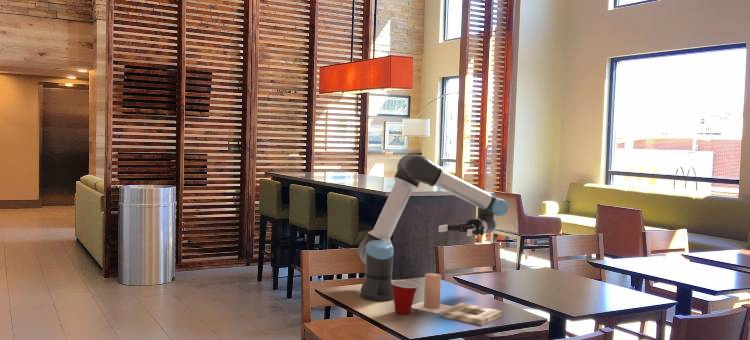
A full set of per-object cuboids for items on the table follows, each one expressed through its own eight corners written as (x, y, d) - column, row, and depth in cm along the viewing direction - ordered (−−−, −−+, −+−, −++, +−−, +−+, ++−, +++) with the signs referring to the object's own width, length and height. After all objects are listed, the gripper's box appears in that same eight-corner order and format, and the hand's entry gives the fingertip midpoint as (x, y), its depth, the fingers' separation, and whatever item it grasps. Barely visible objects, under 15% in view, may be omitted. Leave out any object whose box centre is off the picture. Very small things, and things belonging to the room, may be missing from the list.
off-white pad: (407, 307, 260) (407, 306, 260) (425, 301, 272) (425, 300, 271) (437, 314, 252) (437, 313, 252) (454, 307, 263) (454, 306, 263)
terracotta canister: (420, 306, 261) (422, 274, 260) (428, 303, 266) (430, 272, 266) (434, 309, 257) (436, 277, 257) (442, 306, 263) (444, 275, 262)
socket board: (439, 316, 249) (440, 311, 249) (461, 307, 264) (461, 302, 264) (482, 325, 239) (482, 320, 239) (502, 316, 254) (502, 311, 254)
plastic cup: (414, 317, 245) (416, 286, 245) (387, 314, 248) (388, 283, 247) (418, 310, 256) (420, 280, 256) (392, 308, 258) (393, 278, 258)
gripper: (500, 238, 284) (479, 243, 266) (450, 231, 298) (427, 236, 281) (501, 221, 283) (480, 225, 266) (451, 215, 298) (428, 219, 280)
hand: (453, 231), depth 273 cm, fingers open, 13 cm apart
